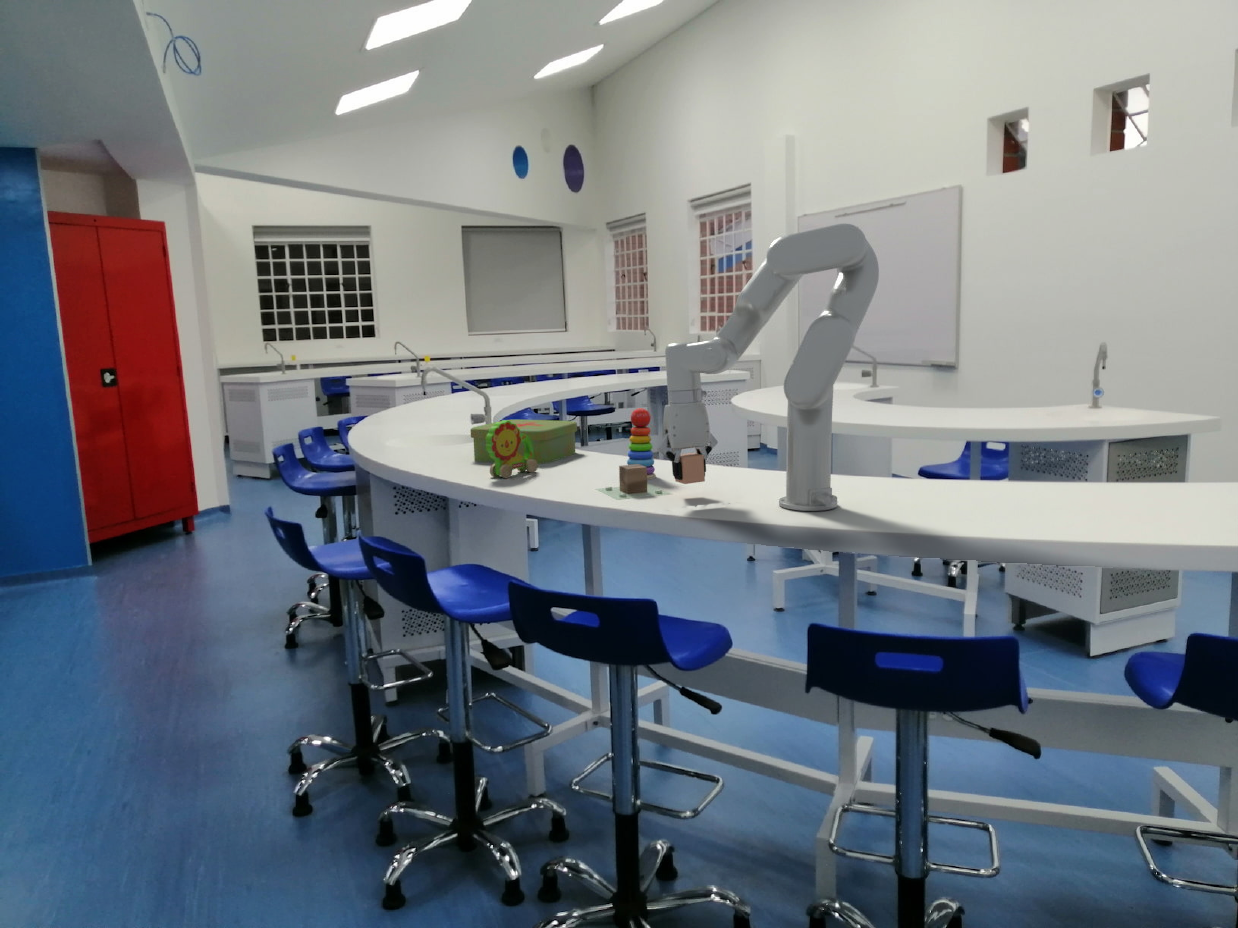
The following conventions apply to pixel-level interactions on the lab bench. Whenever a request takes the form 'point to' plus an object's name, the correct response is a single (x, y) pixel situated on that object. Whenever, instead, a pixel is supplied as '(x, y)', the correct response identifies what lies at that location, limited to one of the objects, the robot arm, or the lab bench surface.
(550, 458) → the first aid kit
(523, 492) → the lab bench surface
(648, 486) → the build plate
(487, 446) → the toy lion
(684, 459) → the rust block
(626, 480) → the walnut block
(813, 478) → the robot arm
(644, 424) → the stacking toy
